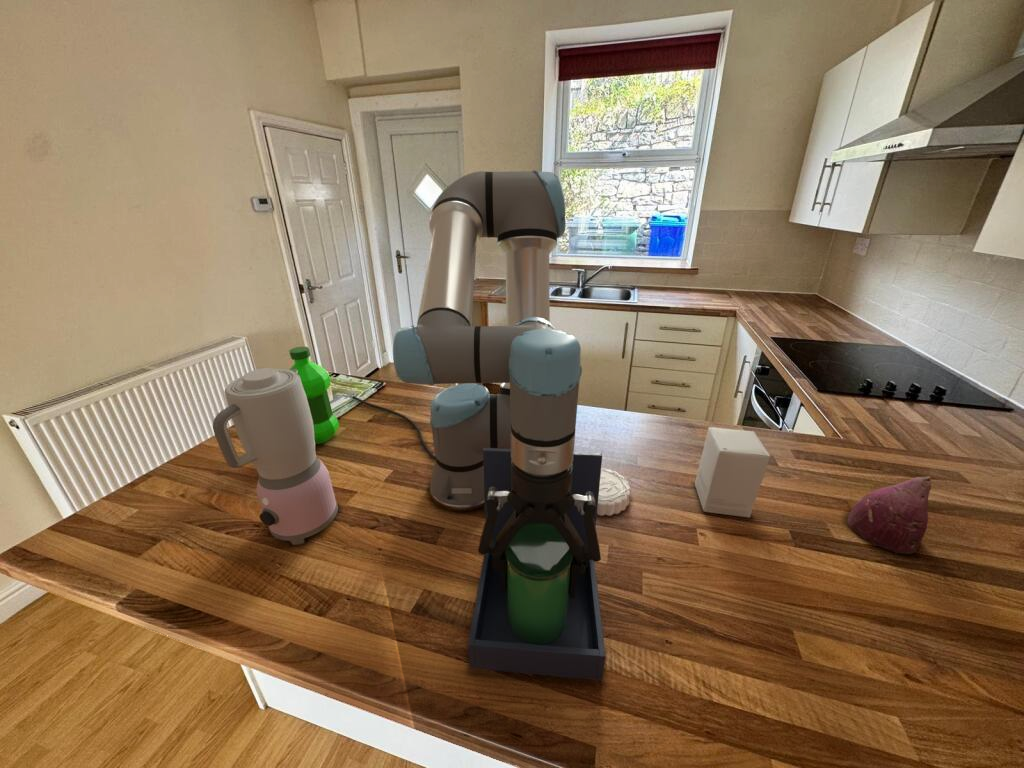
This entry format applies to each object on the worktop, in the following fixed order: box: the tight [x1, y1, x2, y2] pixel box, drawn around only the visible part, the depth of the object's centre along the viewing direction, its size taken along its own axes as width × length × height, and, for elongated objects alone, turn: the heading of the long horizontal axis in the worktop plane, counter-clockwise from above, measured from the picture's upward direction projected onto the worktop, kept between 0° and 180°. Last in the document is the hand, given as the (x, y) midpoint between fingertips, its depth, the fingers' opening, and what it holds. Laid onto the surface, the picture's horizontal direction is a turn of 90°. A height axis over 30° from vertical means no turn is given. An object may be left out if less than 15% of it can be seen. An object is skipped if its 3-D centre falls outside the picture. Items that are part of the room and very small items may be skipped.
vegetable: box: [847, 476, 932, 555], centre depth 73 cm, size 10×10×15 cm
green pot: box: [505, 522, 574, 644], centre depth 58 cm, size 9×9×14 cm
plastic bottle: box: [288, 345, 340, 445], centre depth 100 cm, size 10×10×25 cm
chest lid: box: [483, 448, 603, 545], centre depth 63 cm, size 18×18×1 cm
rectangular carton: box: [694, 426, 771, 518], centre depth 80 cm, size 9×9×15 cm
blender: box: [212, 367, 339, 546], centre depth 71 cm, size 16×12×32 cm
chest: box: [467, 553, 607, 681], centre depth 60 cm, size 17×18×6 cm
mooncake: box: [597, 467, 632, 517], centre depth 84 cm, size 12×12×4 cm
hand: (537, 586), depth 58 cm, fingers open, 9 cm apart
